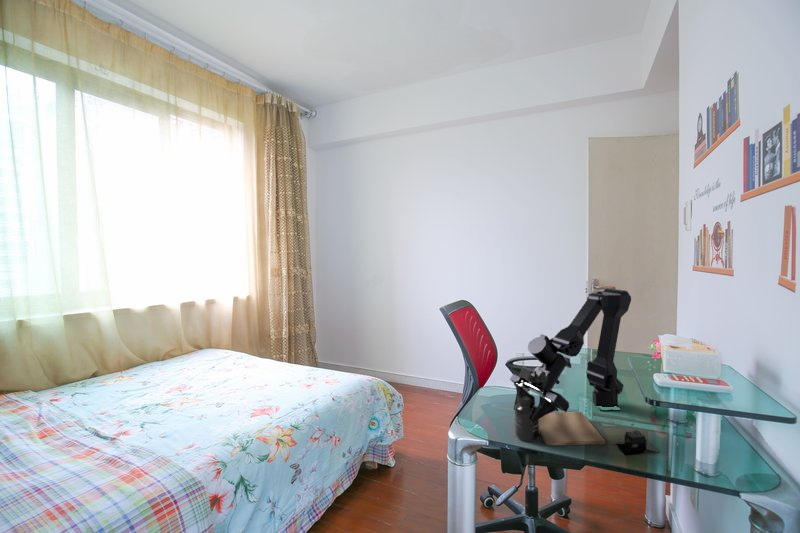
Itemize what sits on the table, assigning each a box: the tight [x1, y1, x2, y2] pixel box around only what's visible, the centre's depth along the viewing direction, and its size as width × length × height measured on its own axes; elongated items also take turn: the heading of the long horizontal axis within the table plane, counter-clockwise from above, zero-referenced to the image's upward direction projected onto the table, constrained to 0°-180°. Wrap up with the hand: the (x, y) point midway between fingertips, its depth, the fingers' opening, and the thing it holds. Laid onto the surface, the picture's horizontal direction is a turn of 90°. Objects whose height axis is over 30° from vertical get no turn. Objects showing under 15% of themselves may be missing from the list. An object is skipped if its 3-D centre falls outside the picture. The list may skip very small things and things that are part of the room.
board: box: [539, 411, 606, 446], centre depth 112 cm, size 16×16×1 cm
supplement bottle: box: [513, 393, 540, 442], centre depth 109 cm, size 7×7×12 cm
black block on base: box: [612, 430, 660, 457], centre depth 101 cm, size 12×7×5 cm, turn 93°
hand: (522, 415), depth 109 cm, fingers closed on supplement bottle, 7 cm apart
